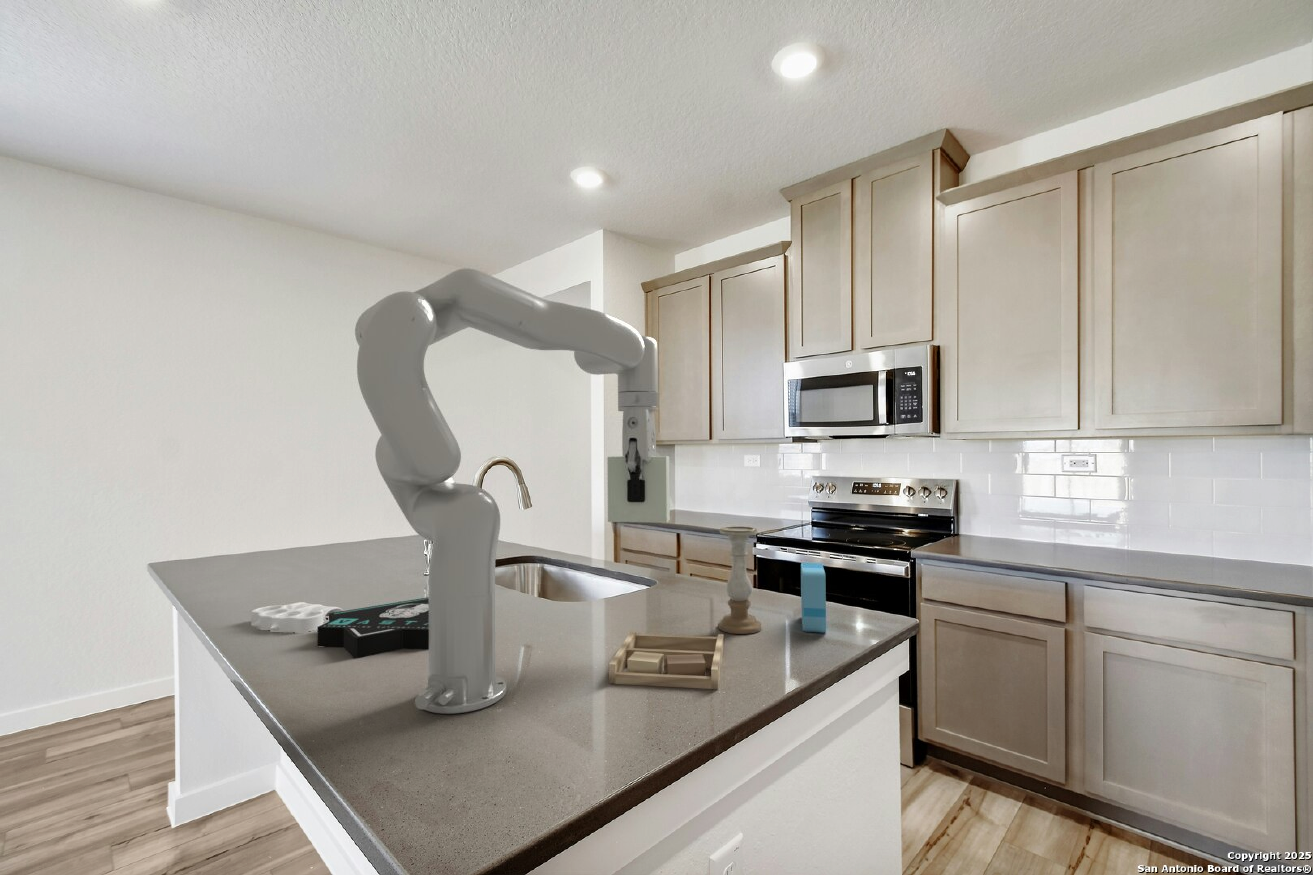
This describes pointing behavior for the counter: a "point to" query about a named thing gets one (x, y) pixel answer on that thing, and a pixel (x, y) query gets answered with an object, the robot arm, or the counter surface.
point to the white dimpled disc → (291, 617)
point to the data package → (813, 597)
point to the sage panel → (655, 491)
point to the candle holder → (739, 584)
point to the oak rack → (667, 646)
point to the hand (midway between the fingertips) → (638, 499)
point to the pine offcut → (646, 663)
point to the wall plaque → (378, 628)
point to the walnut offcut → (685, 665)
